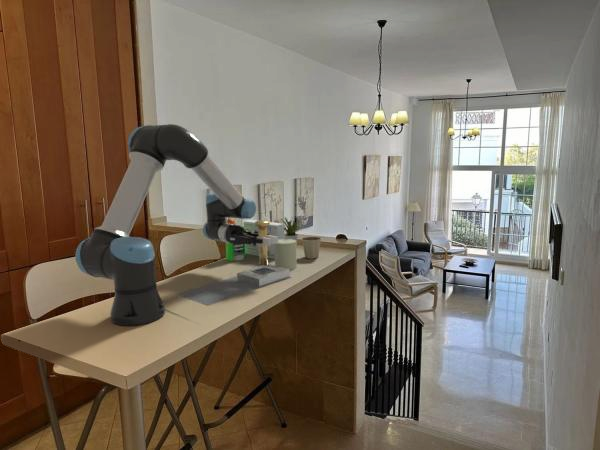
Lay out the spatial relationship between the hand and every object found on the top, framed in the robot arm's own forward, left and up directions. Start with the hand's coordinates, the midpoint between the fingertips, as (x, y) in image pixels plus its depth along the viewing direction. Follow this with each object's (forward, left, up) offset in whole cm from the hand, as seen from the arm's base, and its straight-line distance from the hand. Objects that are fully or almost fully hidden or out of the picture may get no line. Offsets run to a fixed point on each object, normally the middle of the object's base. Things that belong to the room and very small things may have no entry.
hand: (273, 241), depth 159 cm
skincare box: (+27, +34, -16) cm, 46 cm away
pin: (0, +5, -9) cm, 11 cm away
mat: (-12, +7, -16) cm, 21 cm away
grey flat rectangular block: (0, +5, -15) cm, 16 cm away
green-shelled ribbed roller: (+15, +40, -16) cm, 46 cm away
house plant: (+47, +37, -16) cm, 62 cm away
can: (+17, +10, -16) cm, 25 cm away
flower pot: (+38, +14, -16) cm, 43 cm away
